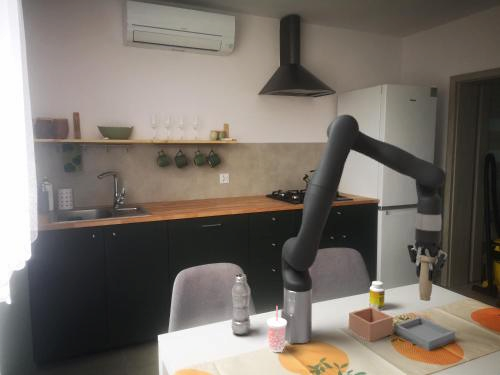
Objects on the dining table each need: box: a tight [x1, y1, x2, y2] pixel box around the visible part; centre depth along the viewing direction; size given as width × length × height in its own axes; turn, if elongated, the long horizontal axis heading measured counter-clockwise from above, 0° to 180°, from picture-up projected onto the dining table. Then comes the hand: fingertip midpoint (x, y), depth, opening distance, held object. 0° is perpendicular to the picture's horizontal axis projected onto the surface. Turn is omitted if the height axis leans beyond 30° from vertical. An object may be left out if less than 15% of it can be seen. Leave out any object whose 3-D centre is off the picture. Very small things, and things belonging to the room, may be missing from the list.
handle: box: [418, 255, 438, 302], centre depth 121 cm, size 5×6×15 cm
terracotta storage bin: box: [348, 306, 394, 343], centre depth 126 cm, size 11×10×6 cm
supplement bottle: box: [368, 280, 386, 311], centre depth 145 cm, size 6×6×10 cm
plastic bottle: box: [231, 273, 252, 335], centre depth 125 cm, size 6×7×20 cm
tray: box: [393, 316, 456, 352], centre depth 123 cm, size 13×13×3 cm
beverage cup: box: [266, 305, 287, 352], centre depth 115 cm, size 6×6×14 cm
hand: (425, 278), depth 121 cm, fingers closed on handle, 3 cm apart
